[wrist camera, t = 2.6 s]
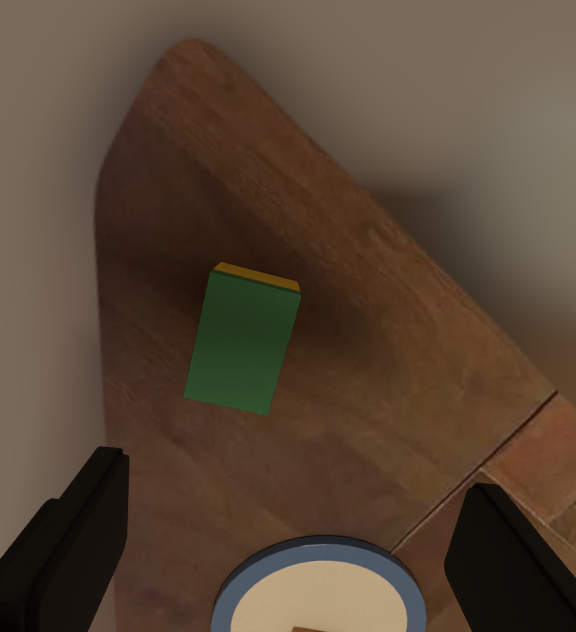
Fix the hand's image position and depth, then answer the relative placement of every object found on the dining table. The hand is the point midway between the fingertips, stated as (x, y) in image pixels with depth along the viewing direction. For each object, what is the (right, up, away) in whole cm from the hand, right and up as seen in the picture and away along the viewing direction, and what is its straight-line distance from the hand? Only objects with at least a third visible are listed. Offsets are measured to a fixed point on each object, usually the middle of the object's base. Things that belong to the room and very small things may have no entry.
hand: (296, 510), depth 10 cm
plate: (+2, -21, +22) cm, 30 cm away
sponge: (-3, +5, +14) cm, 15 cm away
